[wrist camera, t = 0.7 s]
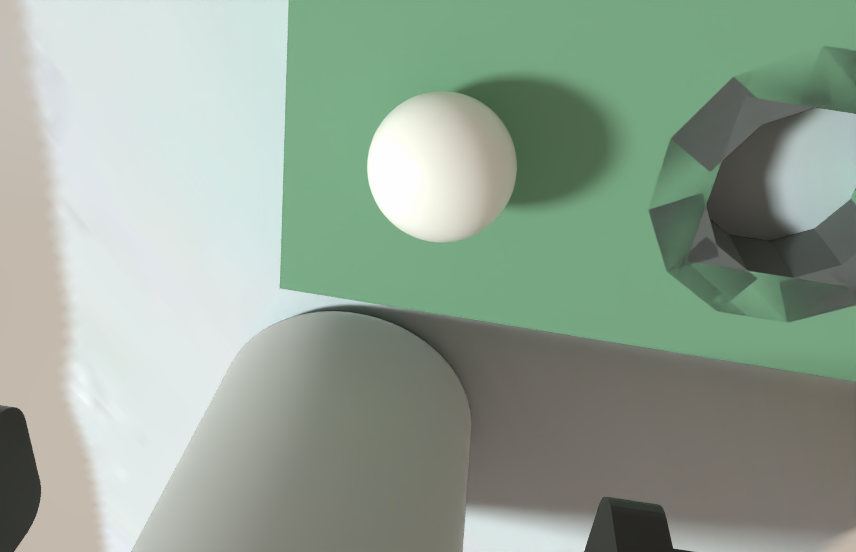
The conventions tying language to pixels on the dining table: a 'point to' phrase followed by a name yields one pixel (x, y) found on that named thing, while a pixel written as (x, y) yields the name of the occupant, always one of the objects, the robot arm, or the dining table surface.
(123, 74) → the dining table surface
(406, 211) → the ball
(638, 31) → the green flat slab
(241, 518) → the cylinder vase
